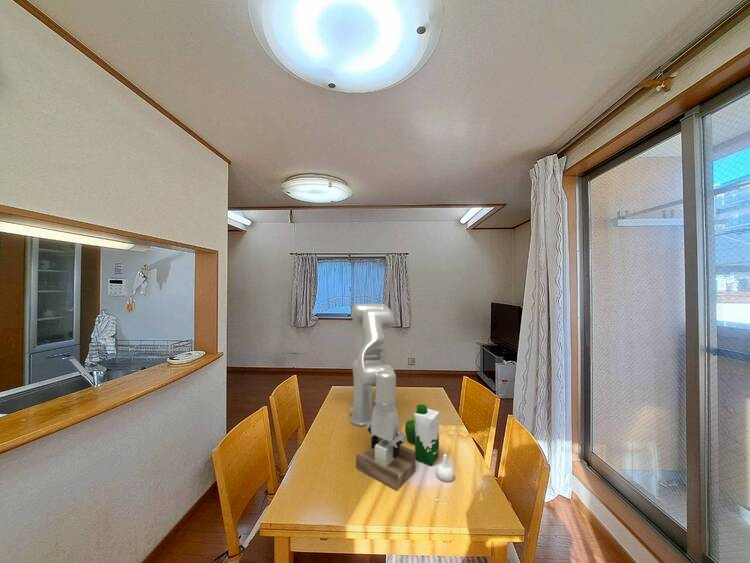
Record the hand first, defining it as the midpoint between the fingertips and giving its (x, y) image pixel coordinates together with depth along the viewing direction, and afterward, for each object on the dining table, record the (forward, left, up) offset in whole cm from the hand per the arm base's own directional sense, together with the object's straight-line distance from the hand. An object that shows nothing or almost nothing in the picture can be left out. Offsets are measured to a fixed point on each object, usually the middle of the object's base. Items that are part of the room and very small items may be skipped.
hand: (385, 451), depth 101 cm
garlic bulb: (+19, +11, -7) cm, 23 cm away
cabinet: (0, 0, -3) cm, 3 cm away
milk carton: (+9, +16, -7) cm, 20 cm away
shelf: (0, +1, -7) cm, 7 cm away
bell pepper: (-1, +24, -7) cm, 25 cm away
